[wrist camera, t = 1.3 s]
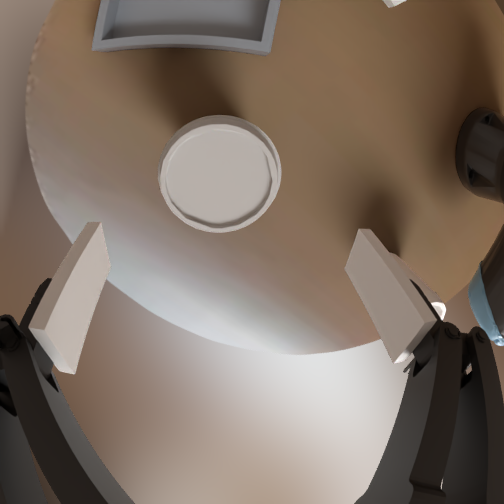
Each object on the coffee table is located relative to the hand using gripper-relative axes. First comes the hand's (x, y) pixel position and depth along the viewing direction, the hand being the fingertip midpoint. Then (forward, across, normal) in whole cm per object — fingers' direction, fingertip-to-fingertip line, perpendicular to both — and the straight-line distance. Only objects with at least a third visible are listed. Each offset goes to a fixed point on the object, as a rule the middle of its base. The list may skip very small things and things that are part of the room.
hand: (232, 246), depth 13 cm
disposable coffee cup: (+20, 0, 0) cm, 20 cm away
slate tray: (+20, +5, -21) cm, 29 cm away
